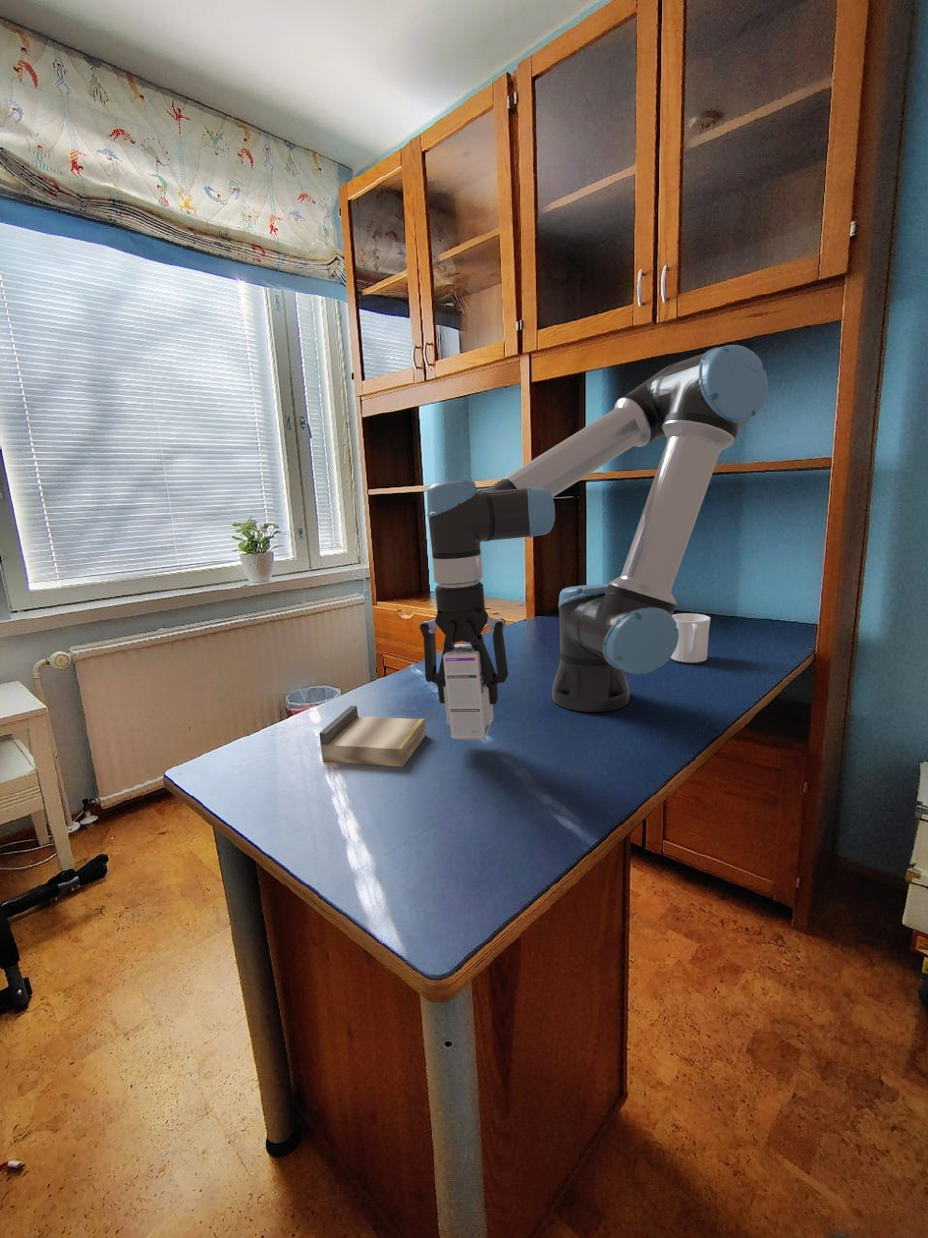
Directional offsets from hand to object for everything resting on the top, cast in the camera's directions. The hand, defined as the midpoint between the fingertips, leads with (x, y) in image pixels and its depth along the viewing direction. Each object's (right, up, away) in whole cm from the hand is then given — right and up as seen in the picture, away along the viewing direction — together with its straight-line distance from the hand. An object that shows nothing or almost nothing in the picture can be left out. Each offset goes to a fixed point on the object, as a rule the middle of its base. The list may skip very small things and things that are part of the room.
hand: (470, 721), depth 94 cm
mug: (+52, +7, +41) cm, 67 cm away
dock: (-16, -5, +4) cm, 17 cm away
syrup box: (0, -2, +1) cm, 2 cm away
